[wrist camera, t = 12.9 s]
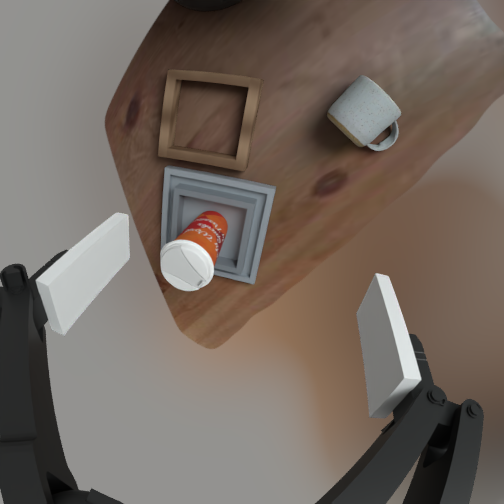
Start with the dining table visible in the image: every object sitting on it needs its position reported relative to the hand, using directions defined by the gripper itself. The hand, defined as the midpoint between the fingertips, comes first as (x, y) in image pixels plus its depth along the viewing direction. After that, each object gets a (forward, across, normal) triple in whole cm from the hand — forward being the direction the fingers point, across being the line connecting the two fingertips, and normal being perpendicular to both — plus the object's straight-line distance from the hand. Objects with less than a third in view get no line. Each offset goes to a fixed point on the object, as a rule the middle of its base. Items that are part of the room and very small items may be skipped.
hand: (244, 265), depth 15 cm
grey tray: (+33, -9, -15) cm, 37 cm away
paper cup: (+32, -9, -15) cm, 37 cm away
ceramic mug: (+33, +11, +8) cm, 36 cm away
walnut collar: (+33, -12, +3) cm, 35 cm away
